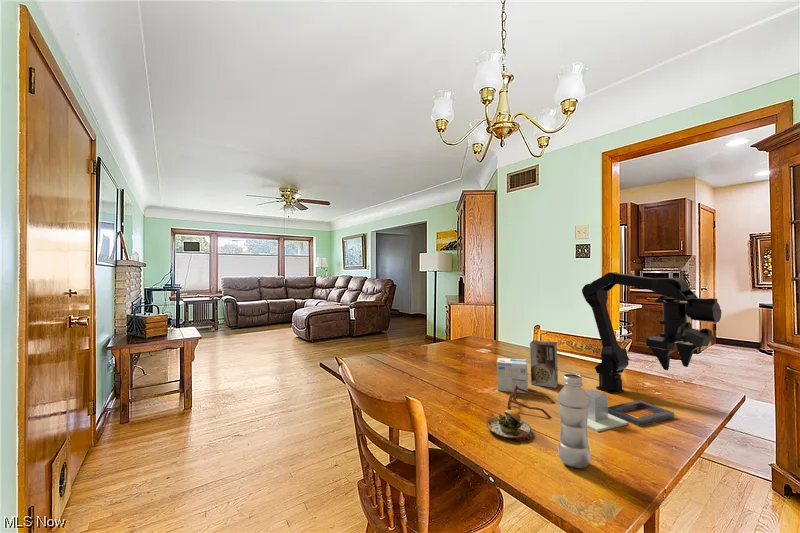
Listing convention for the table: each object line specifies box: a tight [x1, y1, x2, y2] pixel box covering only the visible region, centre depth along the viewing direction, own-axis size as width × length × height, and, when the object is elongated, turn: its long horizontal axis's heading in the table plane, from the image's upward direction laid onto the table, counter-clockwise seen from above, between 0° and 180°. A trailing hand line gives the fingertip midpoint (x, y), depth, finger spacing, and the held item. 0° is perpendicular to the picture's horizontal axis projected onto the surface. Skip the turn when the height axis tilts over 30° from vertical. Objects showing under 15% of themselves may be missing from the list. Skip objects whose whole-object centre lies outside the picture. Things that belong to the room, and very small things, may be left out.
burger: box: [486, 404, 533, 444], centre depth 91 cm, size 12×12×8 cm
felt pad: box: [587, 413, 629, 433], centre depth 98 cm, size 12×12×1 cm
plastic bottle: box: [557, 373, 592, 469], centre depth 75 cm, size 6×7×20 cm
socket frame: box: [608, 399, 675, 427], centre depth 100 cm, size 10×15×2 cm, turn 110°
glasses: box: [507, 385, 556, 419], centre depth 107 cm, size 13×13×5 cm
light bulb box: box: [496, 357, 529, 394], centre depth 123 cm, size 11×7×11 cm, turn 71°
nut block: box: [584, 389, 609, 422], centre depth 98 cm, size 5×5×7 cm
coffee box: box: [529, 339, 559, 389], centre depth 128 cm, size 9×6×16 cm
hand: (675, 368), depth 103 cm, fingers open, 9 cm apart
